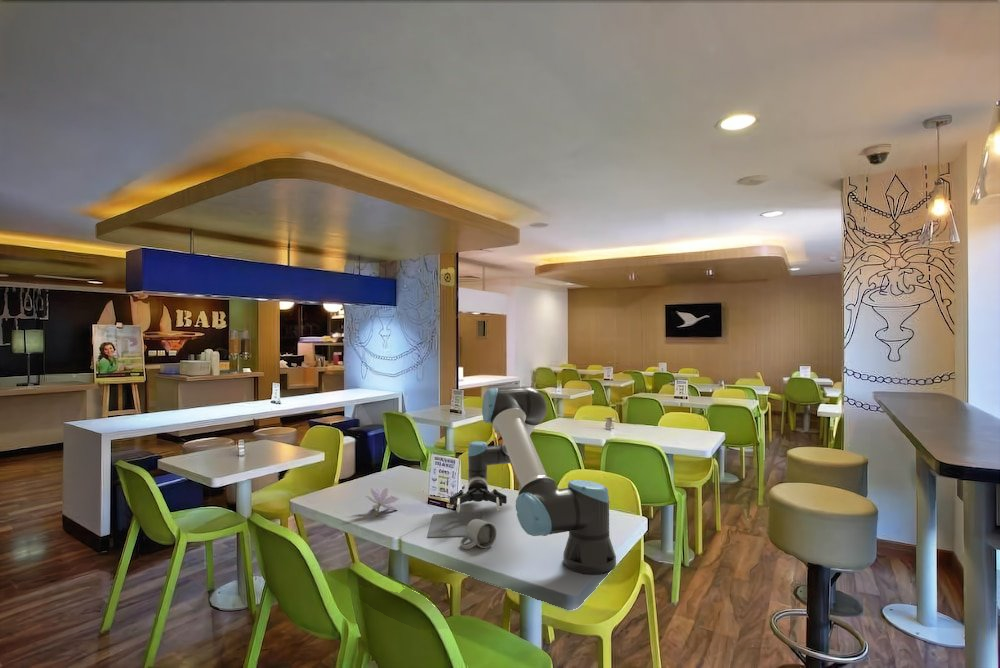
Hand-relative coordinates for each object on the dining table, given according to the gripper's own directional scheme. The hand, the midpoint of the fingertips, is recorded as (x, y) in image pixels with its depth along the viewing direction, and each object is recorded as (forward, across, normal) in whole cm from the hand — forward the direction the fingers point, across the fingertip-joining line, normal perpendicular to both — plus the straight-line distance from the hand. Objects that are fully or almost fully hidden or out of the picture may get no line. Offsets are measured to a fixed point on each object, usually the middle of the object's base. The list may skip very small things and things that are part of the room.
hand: (478, 507), depth 172 cm
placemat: (-8, +8, -9) cm, 14 cm away
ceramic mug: (+10, 0, -9) cm, 14 cm away
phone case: (-49, +13, -10) cm, 51 cm away
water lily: (-24, +36, -9) cm, 44 cm away
